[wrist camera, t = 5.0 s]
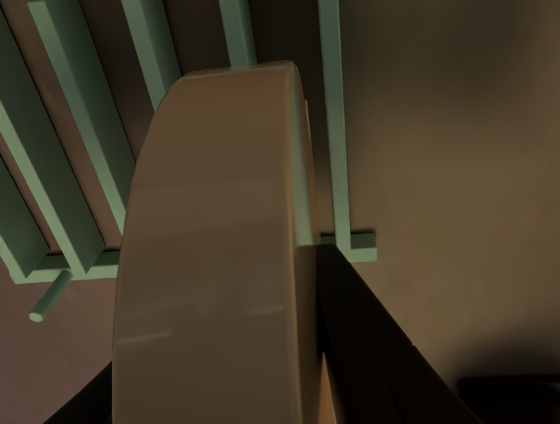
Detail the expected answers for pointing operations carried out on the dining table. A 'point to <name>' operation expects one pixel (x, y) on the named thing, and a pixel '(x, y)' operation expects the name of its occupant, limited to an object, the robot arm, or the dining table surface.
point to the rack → (119, 136)
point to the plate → (222, 258)
